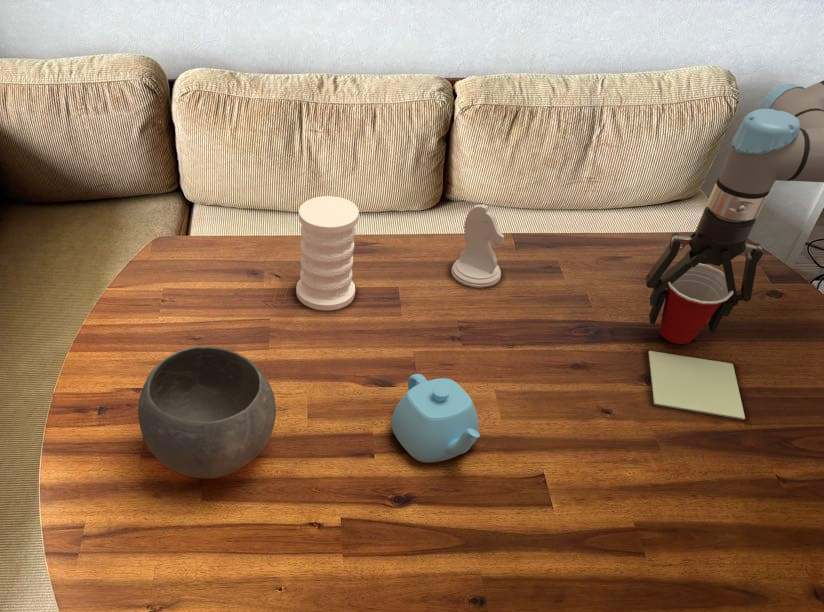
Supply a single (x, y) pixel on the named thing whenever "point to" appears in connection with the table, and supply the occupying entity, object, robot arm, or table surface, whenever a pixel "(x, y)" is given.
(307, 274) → the decorative container
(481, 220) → the chess piece
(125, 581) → the table surface
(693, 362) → the mat
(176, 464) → the bowl
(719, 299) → the plastic cup
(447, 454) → the teapot
